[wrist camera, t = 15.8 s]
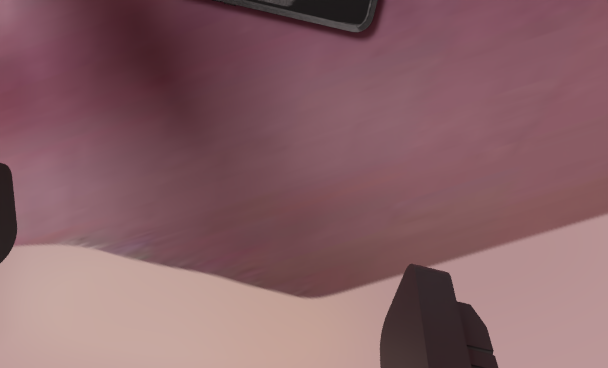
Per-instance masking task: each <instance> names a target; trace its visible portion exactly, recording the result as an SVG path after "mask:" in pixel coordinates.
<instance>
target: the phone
mask: <svg viewBox="0 0 608 368" xmlns="http://www.w3.org/2000/svg"><path fill="white" fill-rule="evenodd" d="M214 1H218V2H221V1H222V2H224V3H225V4H230V5H234V6H236V5H239V6H243V7H248V8H252V9H256V10H261V11H265V12H269V13H273V14H278V15H282V16H286V17H291V18H295V19H299V20H303V21H308V22H312V23H316V24H321V25H325V26H329V27H333V28H338V29H342V30H346V31H350V32H360V31H363V30H365V29H366V28H368V26H369V25H370V24H371V22H372V20H373V17H374V13H375V9H376V5H377V1H378V0H214Z"/></svg>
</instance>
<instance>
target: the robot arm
mask: <svg viewBox="0 0 608 368" xmlns="http://www.w3.org/2000/svg"><path fill="white" fill-rule="evenodd" d="M16 235H17V221H16V211H15V201H14V191H13V181H12V174H11V171H10V169H9V167H8V166H7V165H5V164H2V163H0V263H1V262H2V261H3V260H4V259H5V258H6V257H7V255H8V254H9V252H10V251H11V249H12V247H13V245H14V242H15V239H16ZM380 364H381V368H498V365H497V362H496V358H495V356H494V355H493V348H492V344H491V341H490V337H489V334H488V330H487V327H486V326H485V324H484V323H483V321H482V320H481V319H480V317H479V316H478V315H477V313H476V312H475V310H474V309H473V308H472V306H471V305H469V304H466V303H461V302H457V301H456V297H455V293H454V288H453V284H452V280H451V276H450V274H449V273H447V272H444V271H440V270H436V269H432V268H427V267H423V266H419V265H415V264H410V265H409V266H408V267H407V269H406V271H405V273H404V275H403V278H402V280H401V282H400V285H399V287H398V289H397V292H396V294H395V297H394V299H393V301H392V304H391V306H390V308H389V311H388V313H387V315H386V318H385V321H384V325H383V329H382V334H381V342H380Z"/></svg>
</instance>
